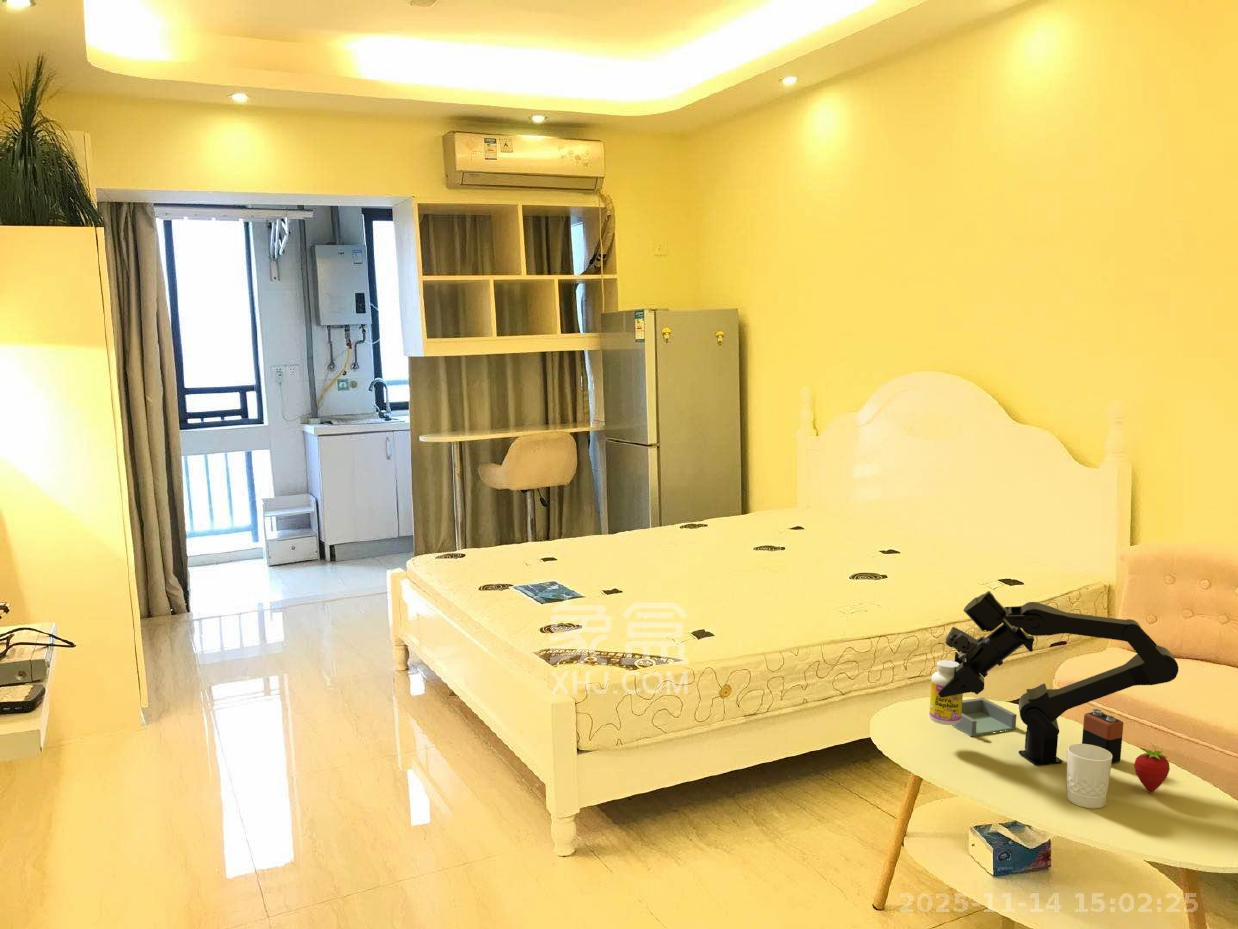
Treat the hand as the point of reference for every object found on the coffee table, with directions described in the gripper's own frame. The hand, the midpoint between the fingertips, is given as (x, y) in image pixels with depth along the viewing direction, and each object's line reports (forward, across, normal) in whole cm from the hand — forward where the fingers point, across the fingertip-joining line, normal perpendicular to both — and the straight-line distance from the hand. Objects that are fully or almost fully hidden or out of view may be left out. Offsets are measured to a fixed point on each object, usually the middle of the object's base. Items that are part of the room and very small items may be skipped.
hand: (940, 690), depth 222 cm
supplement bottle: (+4, 0, +6) cm, 7 cm away
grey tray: (+3, -15, +15) cm, 21 cm away
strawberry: (-20, +9, +38) cm, 43 cm away
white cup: (-11, +18, +29) cm, 36 cm away
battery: (-14, -5, +32) cm, 36 cm away
